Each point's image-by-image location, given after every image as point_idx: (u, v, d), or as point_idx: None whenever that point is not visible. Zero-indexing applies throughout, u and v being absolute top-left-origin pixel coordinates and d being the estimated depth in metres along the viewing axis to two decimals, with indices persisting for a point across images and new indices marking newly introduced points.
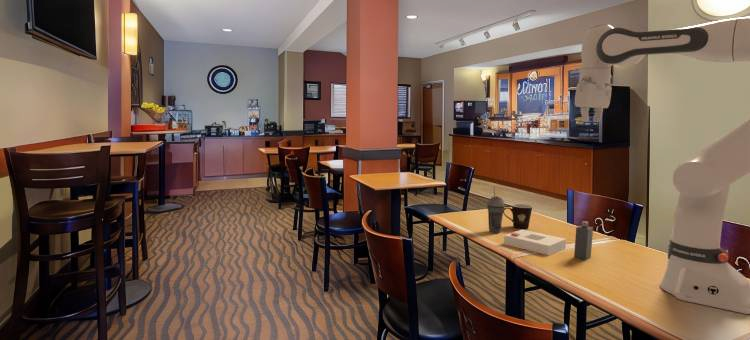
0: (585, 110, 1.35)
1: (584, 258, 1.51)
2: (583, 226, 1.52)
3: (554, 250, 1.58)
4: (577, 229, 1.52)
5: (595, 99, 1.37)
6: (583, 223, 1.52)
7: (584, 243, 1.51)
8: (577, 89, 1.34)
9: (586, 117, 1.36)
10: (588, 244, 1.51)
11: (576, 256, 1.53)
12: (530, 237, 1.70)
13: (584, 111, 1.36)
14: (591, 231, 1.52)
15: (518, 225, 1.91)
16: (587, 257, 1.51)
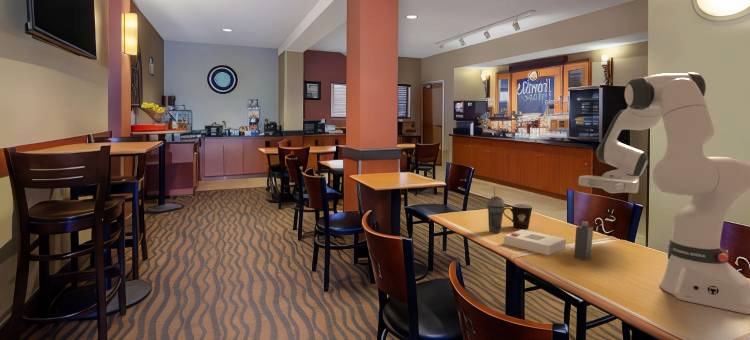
0: (586, 180, 1.66)
1: (584, 258, 1.51)
2: (583, 226, 1.52)
3: (554, 250, 1.58)
4: (577, 229, 1.52)
5: (600, 177, 1.65)
6: (583, 223, 1.51)
7: (584, 243, 1.50)
8: None
9: None
10: (588, 244, 1.51)
11: (576, 256, 1.53)
12: (530, 237, 1.70)
13: (586, 181, 1.65)
14: (591, 231, 1.52)
15: (518, 225, 1.91)
16: (587, 257, 1.51)
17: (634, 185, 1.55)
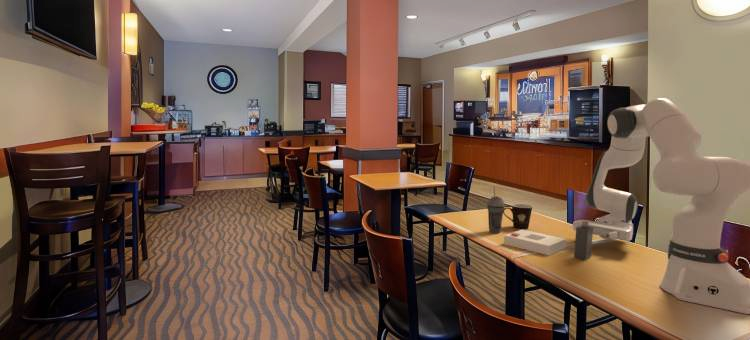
0: None
1: (584, 258, 1.51)
2: (583, 226, 1.52)
3: (554, 250, 1.58)
4: (577, 229, 1.52)
5: (594, 223, 1.65)
6: (583, 223, 1.52)
7: (584, 243, 1.51)
8: None
9: None
10: (588, 244, 1.51)
11: (576, 256, 1.53)
12: (530, 237, 1.70)
13: None
14: (591, 231, 1.52)
15: (518, 225, 1.91)
16: (587, 257, 1.51)
17: (628, 234, 1.55)
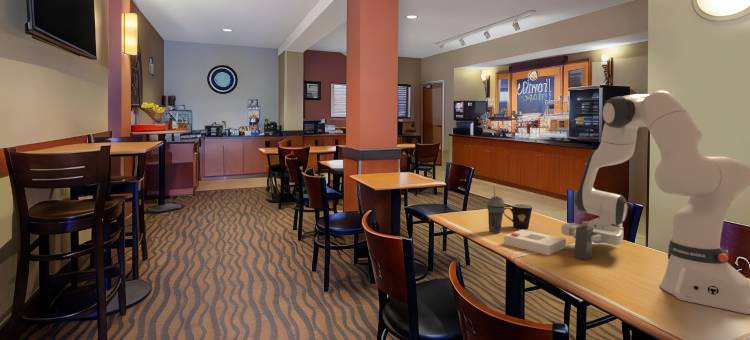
0: (574, 231, 1.58)
1: (584, 258, 1.51)
2: (583, 226, 1.52)
3: (554, 250, 1.58)
4: (577, 229, 1.52)
5: None
6: (583, 223, 1.52)
7: (584, 243, 1.50)
8: None
9: None
10: (588, 244, 1.51)
11: (576, 256, 1.53)
12: (530, 237, 1.70)
13: (574, 232, 1.57)
14: (591, 231, 1.52)
15: (518, 225, 1.91)
16: (587, 257, 1.51)
17: (618, 238, 1.48)
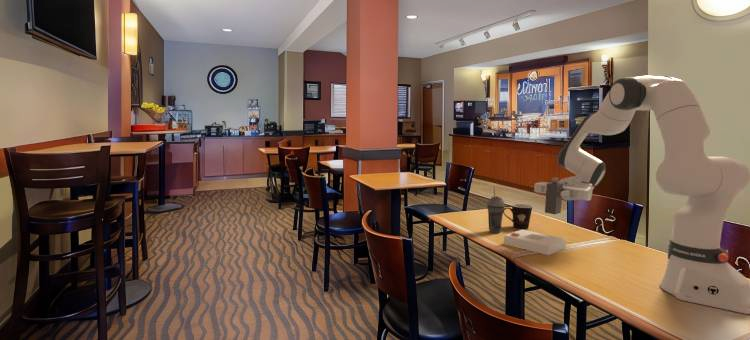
0: (545, 188, 1.65)
1: (554, 212, 1.58)
2: (553, 182, 1.59)
3: (554, 250, 1.58)
4: (547, 185, 1.59)
5: None
6: (553, 179, 1.59)
7: (553, 198, 1.58)
8: None
9: None
10: (557, 199, 1.58)
11: (546, 211, 1.60)
12: (530, 237, 1.70)
13: None
14: (561, 187, 1.59)
15: (518, 225, 1.91)
16: (557, 212, 1.59)
17: (585, 193, 1.55)
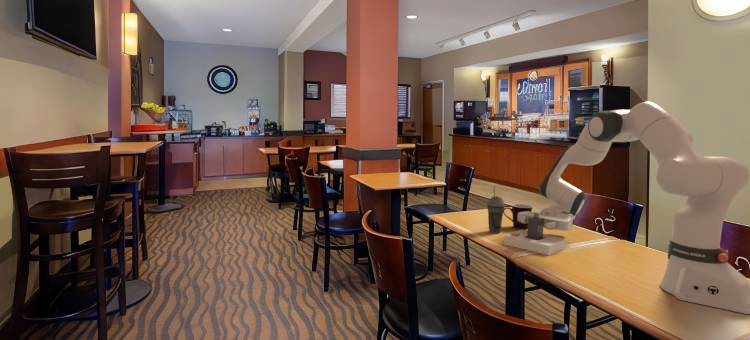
0: None
1: None
2: (534, 217, 1.65)
3: (554, 250, 1.58)
4: (529, 220, 1.65)
5: None
6: (534, 214, 1.65)
7: (535, 232, 1.64)
8: None
9: None
10: (538, 234, 1.64)
11: None
12: None
13: None
14: (542, 221, 1.65)
15: (518, 225, 1.91)
16: None
17: (565, 224, 1.61)
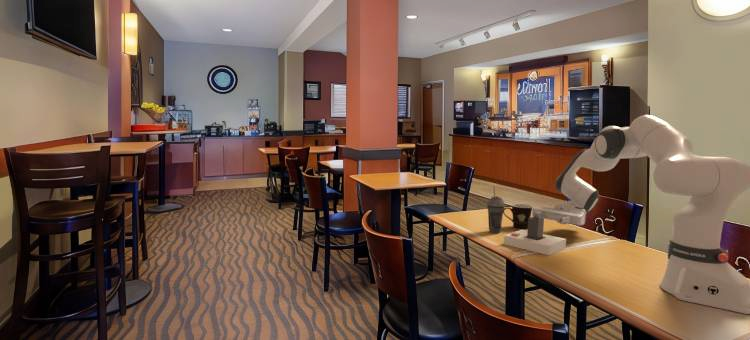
0: None
1: None
2: (534, 217, 1.65)
3: (554, 250, 1.58)
4: (529, 220, 1.65)
5: (551, 210, 1.80)
6: (534, 214, 1.65)
7: (535, 232, 1.64)
8: None
9: None
10: (538, 234, 1.64)
11: None
12: None
13: None
14: (542, 221, 1.65)
15: (518, 225, 1.91)
16: None
17: (579, 219, 1.70)
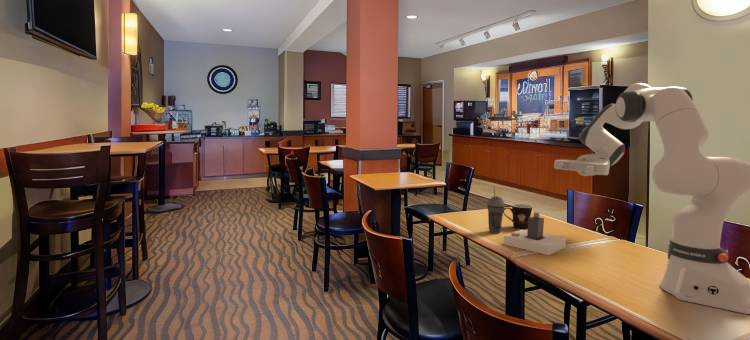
0: (560, 164, 1.77)
1: None
2: (534, 217, 1.65)
3: (554, 250, 1.58)
4: (529, 220, 1.65)
5: (574, 161, 1.76)
6: (534, 214, 1.65)
7: (535, 232, 1.64)
8: None
9: None
10: (538, 234, 1.64)
11: None
12: None
13: None
14: (542, 221, 1.65)
15: (518, 225, 1.91)
16: None
17: (604, 167, 1.66)
